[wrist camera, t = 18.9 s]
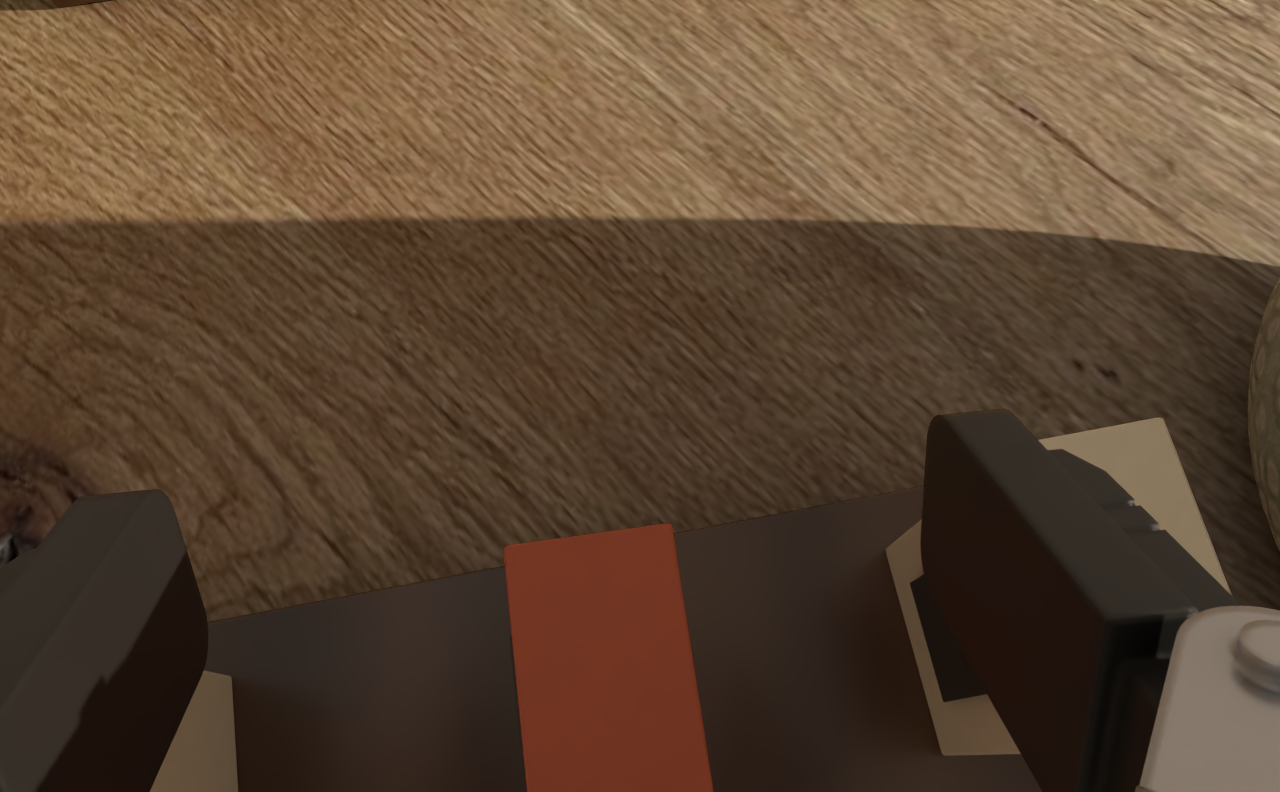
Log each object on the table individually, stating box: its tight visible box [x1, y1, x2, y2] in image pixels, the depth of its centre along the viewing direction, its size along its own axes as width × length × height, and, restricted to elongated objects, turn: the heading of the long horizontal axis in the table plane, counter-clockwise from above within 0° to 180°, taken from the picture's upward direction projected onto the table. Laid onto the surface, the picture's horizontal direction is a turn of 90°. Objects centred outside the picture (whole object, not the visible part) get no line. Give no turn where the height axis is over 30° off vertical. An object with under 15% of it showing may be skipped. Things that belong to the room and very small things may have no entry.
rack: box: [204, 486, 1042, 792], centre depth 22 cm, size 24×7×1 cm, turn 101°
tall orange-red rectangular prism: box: [503, 523, 714, 792], centre depth 18 cm, size 3×4×8 cm, turn 8°
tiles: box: [150, 417, 1232, 792], centre depth 18 cm, size 20×4×8 cm, turn 101°
